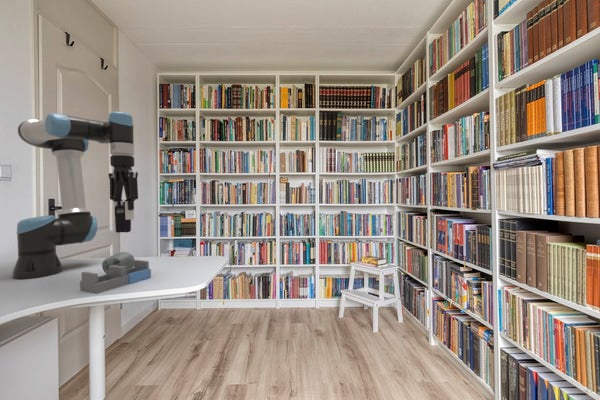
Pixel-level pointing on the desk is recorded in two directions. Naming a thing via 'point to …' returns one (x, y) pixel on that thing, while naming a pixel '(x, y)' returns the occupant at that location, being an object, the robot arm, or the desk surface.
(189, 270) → the desk surface
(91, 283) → the blue-ended grey tray
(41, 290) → the desk surface
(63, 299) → the desk surface
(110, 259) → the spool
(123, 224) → the two-way radio
